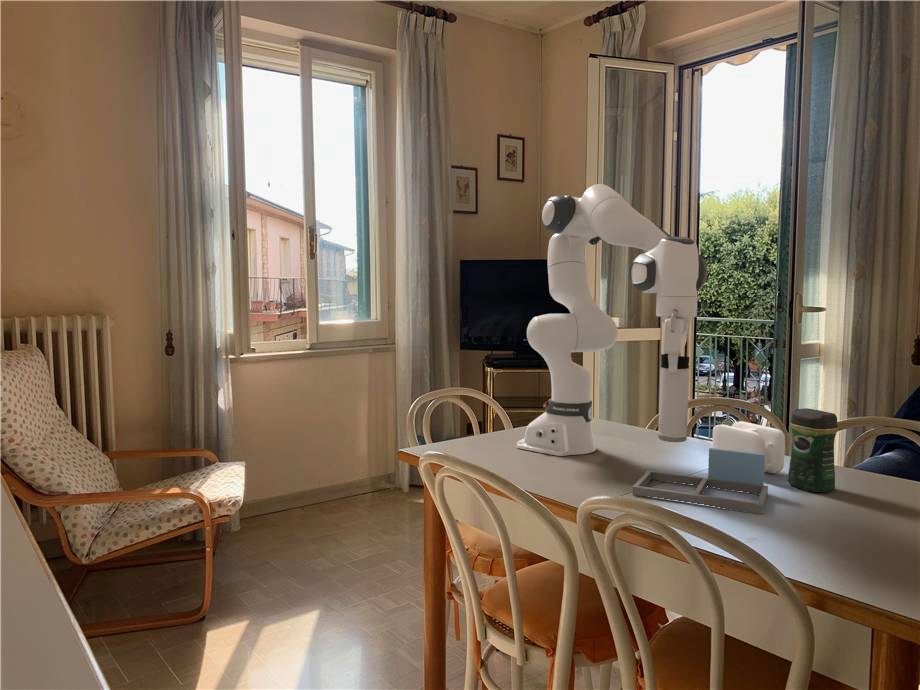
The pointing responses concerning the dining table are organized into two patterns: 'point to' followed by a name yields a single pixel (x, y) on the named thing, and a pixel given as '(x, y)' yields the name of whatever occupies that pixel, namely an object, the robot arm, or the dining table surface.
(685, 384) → the travel mug
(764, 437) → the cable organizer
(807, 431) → the coffee jar
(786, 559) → the dining table surface
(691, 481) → the rack
